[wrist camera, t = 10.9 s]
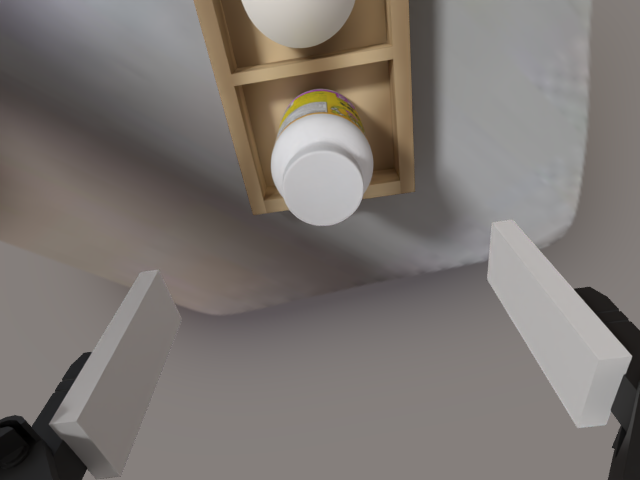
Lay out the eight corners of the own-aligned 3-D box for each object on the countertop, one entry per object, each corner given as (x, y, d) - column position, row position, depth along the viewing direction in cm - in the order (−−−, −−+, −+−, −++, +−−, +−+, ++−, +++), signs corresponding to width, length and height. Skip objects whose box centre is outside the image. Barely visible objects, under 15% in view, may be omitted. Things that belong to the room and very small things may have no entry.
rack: (258, 196, 38) (253, 215, 35) (180, -102, 26) (161, -115, 23) (406, 174, 37) (415, 191, 34) (391, -146, 25) (403, -165, 22)
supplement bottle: (369, 151, 35) (393, 224, 24) (297, 174, 36) (289, 254, 25) (347, 73, 31) (364, 116, 20) (269, 101, 32) (245, 156, 21)
